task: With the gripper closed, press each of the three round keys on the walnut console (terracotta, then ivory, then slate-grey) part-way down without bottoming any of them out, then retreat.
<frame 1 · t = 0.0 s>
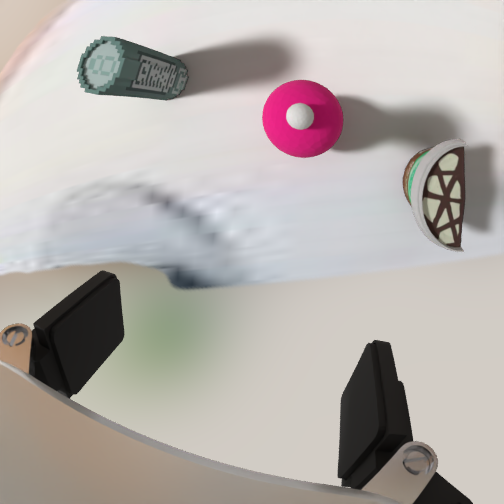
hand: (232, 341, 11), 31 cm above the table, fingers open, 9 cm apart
food container: (415, 182, 35), on the table
pepper mill: (310, 123, 36), on the table
dark green cylinder: (168, 79, 37), on the table
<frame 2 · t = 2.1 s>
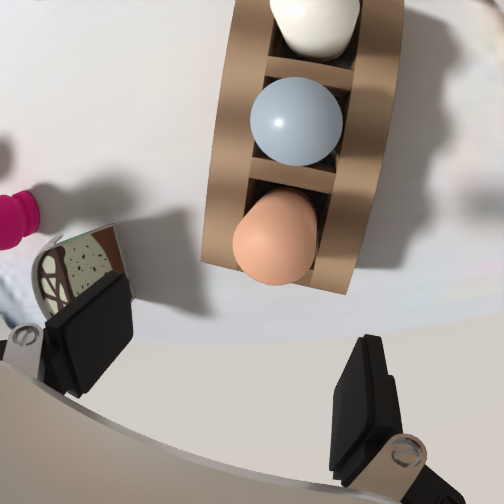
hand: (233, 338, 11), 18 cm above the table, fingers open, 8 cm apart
ivory key: (316, 18, 15), point 6 cm above the table, slide at 0.0 cm
terracotta key: (280, 231, 21), point 6 cm above the table, slide at 0.0 cm
food container: (106, 261, 34), on the table
slate key: (299, 122, 18), point 6 cm above the table, slide at 0.0 cm
console: (304, 124, 24), on the table
pepper mill: (28, 211, 35), on the table
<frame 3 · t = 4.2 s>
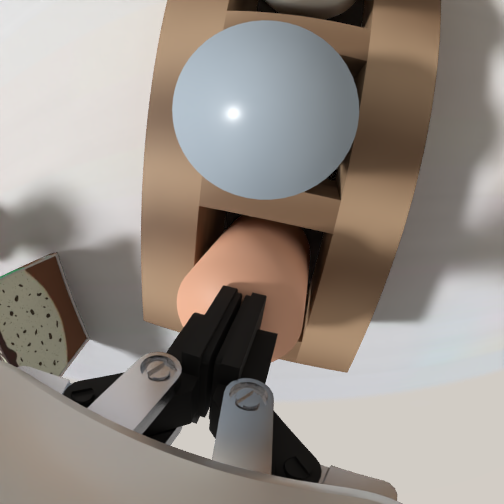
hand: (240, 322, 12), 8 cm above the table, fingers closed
terracotta key: (254, 279, 15), point 5 cm above the table, slide at 1.4 cm, touching gripper
food container: (55, 295, 26), on the table
slate key: (277, 112, 10), point 6 cm above the table, slide at 0.0 cm
console: (292, 118, 16), on the table
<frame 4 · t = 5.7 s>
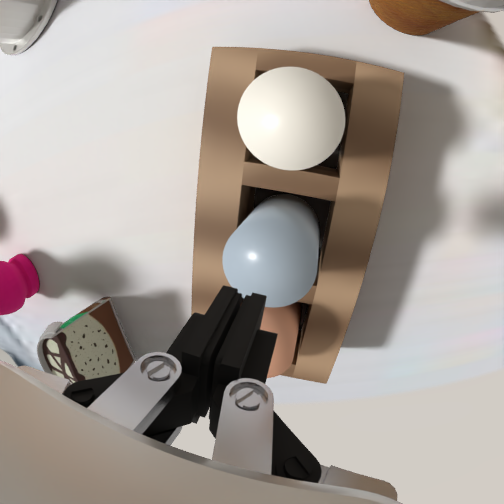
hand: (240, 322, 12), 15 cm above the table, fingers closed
ivory key: (296, 120, 16), point 6 cm above the table, slide at 0.0 cm
terracotta key: (266, 326, 24), point 5 cm above the table, slide at 1.7 cm
food container: (106, 328, 35), on the table
slate key: (277, 244, 19), point 6 cm above the table, slide at 0.0 cm
disposable coffee cup: (405, 3, 16), on the table
console: (289, 217, 25), on the table
pepper mill: (27, 273, 36), on the table
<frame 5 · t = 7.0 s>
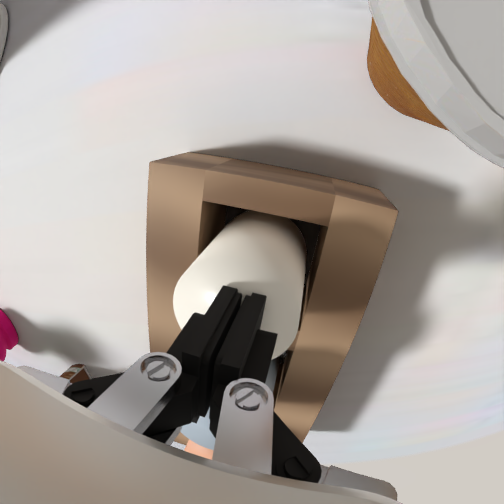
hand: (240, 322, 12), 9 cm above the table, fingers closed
ivory key: (250, 278, 15), point 6 cm above the table, slide at 0.5 cm, touching gripper
terracotta key: (227, 429, 22), point 5 cm above the table, slide at 1.7 cm
food container: (83, 386, 33), on the table
slate key: (230, 389, 17), point 6 cm above the table, slide at 0.0 cm
disposable coffee cup: (416, 70, 14), on the table
console: (252, 328, 23), on the table
pepper mill: (6, 325, 33), on the table
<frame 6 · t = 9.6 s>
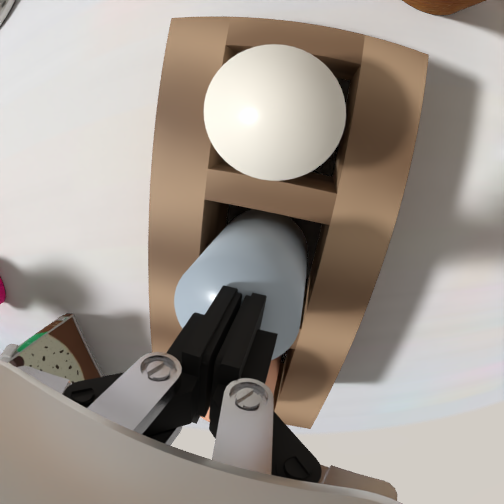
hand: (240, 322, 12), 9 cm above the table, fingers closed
ivory key: (282, 114, 13), point 5 cm above the table, slide at 1.8 cm
terracotta key: (239, 368, 19), point 5 cm above the table, slide at 1.7 cm
food container: (72, 344, 30), on the table
slate key: (251, 278, 15), point 6 cm above the table, slide at 0.4 cm, touching gripper
console: (271, 235, 20), on the table
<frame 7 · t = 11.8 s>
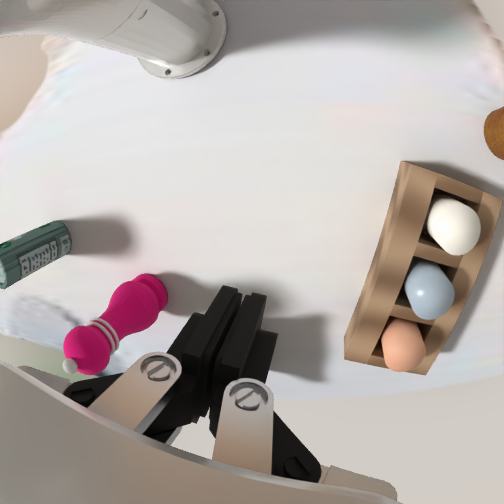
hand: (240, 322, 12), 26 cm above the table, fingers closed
ivory key: (449, 222, 28), point 5 cm above the table, slide at 1.8 cm
terracotta key: (401, 339, 33), point 5 cm above the table, slide at 1.7 cm
slate key: (426, 285, 30), point 5 cm above the table, slide at 1.8 cm
disposable coffee cup: (502, 134, 26), on the table
console: (416, 269, 35), on the table
pepper mill: (151, 291, 46), on the table
dark green cylinder: (60, 237, 47), on the table
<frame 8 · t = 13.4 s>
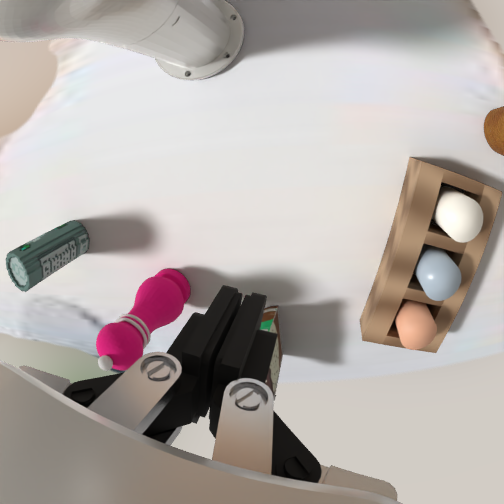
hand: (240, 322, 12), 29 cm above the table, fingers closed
ivory key: (454, 212, 30), point 5 cm above the table, slide at 1.8 cm
terracotta key: (413, 320, 36), point 5 cm above the table, slide at 1.7 cm
food container: (261, 330, 48), on the table
slate key: (435, 270, 33), point 5 cm above the table, slide at 1.8 cm
disposable coffee cup: (500, 131, 28), on the table
console: (424, 255, 37), on the table
pepper mill: (173, 285, 48), on the table
dark green cylinder: (77, 236, 49), on the table
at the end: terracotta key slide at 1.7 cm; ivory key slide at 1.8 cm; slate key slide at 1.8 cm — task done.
